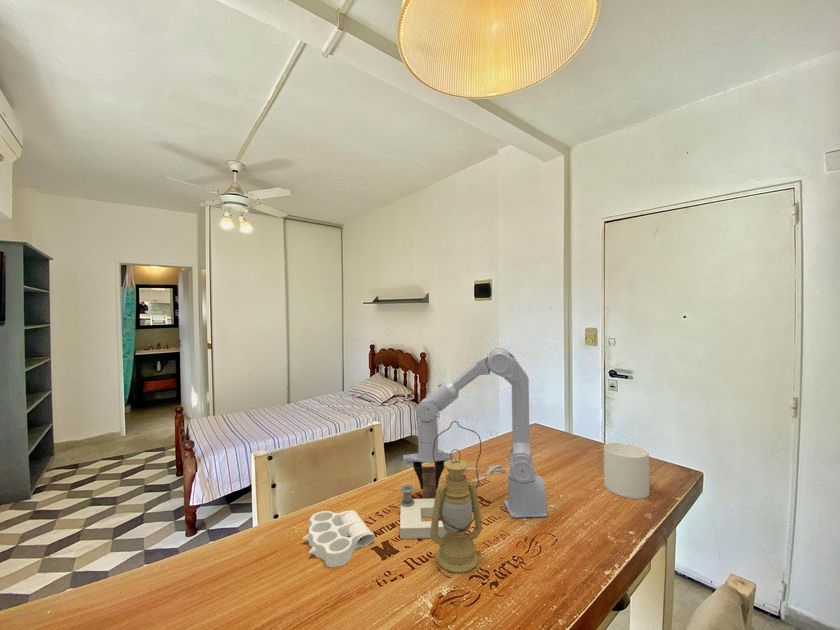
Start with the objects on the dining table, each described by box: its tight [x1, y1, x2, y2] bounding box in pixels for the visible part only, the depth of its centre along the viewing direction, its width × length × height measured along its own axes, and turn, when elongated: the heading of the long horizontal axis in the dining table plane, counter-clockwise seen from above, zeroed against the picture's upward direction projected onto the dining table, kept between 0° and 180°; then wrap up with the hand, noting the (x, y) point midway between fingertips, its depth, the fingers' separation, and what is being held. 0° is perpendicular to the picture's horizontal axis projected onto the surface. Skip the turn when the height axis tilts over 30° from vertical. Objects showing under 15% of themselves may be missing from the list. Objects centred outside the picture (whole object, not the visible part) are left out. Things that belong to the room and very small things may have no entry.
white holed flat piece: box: [301, 509, 375, 568], centre depth 82 cm, size 3×18×15 cm
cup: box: [603, 442, 650, 500], centre depth 104 cm, size 12×12×12 cm
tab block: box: [422, 466, 437, 499], centre depth 100 cm, size 4×4×7 cm
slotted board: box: [399, 484, 447, 540], centre depth 89 cm, size 12×13×6 cm
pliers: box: [465, 464, 506, 483], centre depth 116 cm, size 10×2×15 cm
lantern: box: [430, 420, 483, 574], centre depth 76 cm, size 12×10×30 cm
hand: (428, 487), depth 100 cm, fingers closed on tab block, 4 cm apart
